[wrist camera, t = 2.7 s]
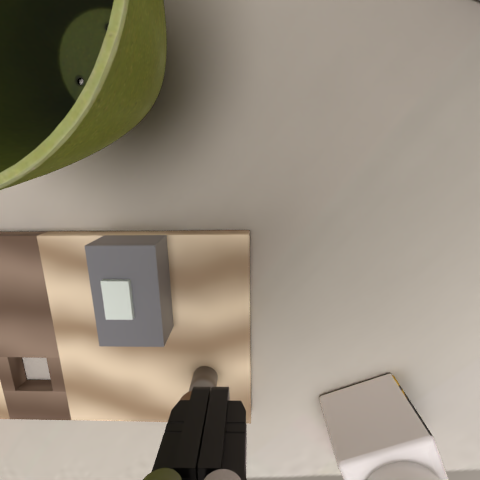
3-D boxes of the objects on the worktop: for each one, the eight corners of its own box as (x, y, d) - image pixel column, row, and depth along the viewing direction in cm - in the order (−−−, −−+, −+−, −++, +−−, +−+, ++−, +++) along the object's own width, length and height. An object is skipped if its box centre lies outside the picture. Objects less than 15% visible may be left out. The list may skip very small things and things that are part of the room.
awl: (186, 360, 27) (150, 472, 18) (222, 361, 27) (206, 473, 18) (188, 391, 28) (155, 513, 18) (223, 392, 28) (209, 515, 18)
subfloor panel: (-54, 232, 27) (-72, 236, 25) (249, 230, 26) (249, 234, 24) (-8, 406, 31) (-21, 418, 30) (250, 410, 30) (250, 423, 29)
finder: (104, 235, 25) (81, 247, 21) (166, 235, 24) (153, 247, 21) (116, 325, 27) (97, 349, 23) (173, 326, 26) (162, 350, 23)
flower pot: (214, 176, 25) (152, 208, 9) (31, 175, 25) (-321, 203, 10) (211, -52, 21) (93, -655, 5) (-6, -48, 21) (-682, -587, 6)
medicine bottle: (412, 429, 30) (513, 599, 19) (342, 450, 31) (395, 624, 20) (391, 370, 29) (486, 516, 17) (317, 394, 30) (359, 548, 18)
